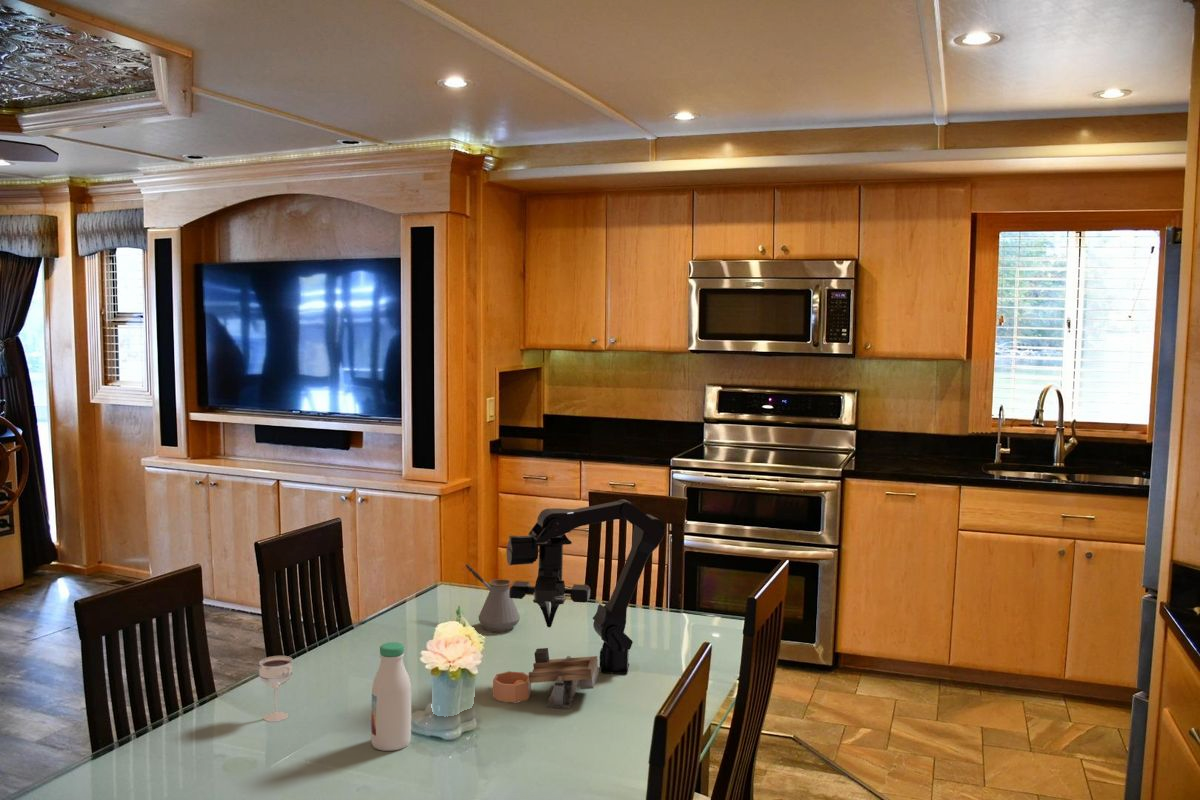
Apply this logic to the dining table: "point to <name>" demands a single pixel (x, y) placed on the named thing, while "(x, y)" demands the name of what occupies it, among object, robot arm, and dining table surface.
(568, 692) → the stand
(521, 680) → the ball
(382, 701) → the milk bottle
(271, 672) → the wineglass
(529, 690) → the terracotta octagonal container
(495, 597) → the coffee pot
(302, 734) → the dining table surface
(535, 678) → the lever
